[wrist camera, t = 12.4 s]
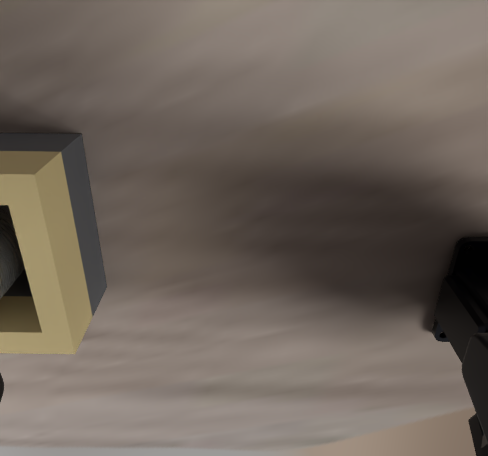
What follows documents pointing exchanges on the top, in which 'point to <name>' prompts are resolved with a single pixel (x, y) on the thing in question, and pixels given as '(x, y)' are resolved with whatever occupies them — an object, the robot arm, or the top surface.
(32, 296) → the collar block
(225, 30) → the top surface
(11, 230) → the metal tumbler
